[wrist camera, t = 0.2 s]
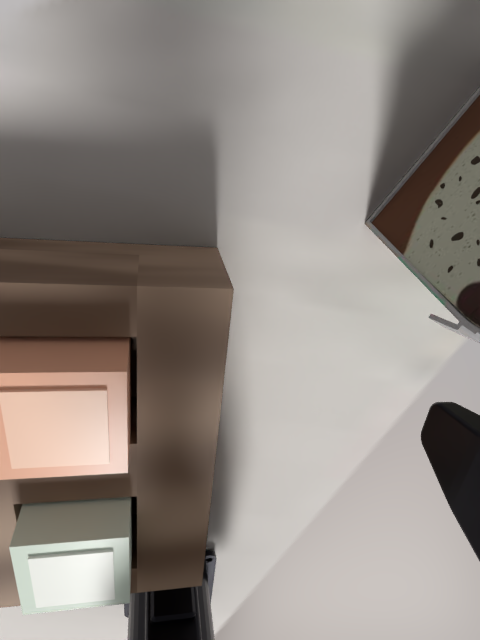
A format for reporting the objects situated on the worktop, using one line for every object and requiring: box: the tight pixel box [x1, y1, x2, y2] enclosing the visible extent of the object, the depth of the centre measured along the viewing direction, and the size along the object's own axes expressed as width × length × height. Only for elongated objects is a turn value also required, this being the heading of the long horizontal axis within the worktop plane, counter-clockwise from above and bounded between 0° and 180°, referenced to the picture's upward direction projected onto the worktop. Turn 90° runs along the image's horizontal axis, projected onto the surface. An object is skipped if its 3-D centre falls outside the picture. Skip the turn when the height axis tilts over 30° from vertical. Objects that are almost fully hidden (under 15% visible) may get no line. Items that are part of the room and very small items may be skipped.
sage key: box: [9, 497, 132, 615], centre depth 22 cm, size 5×5×4 cm
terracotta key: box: [0, 336, 132, 480], centre depth 18 cm, size 5×5×4 cm
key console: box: [0, 238, 234, 608], centre depth 23 cm, size 19×13×5 cm
